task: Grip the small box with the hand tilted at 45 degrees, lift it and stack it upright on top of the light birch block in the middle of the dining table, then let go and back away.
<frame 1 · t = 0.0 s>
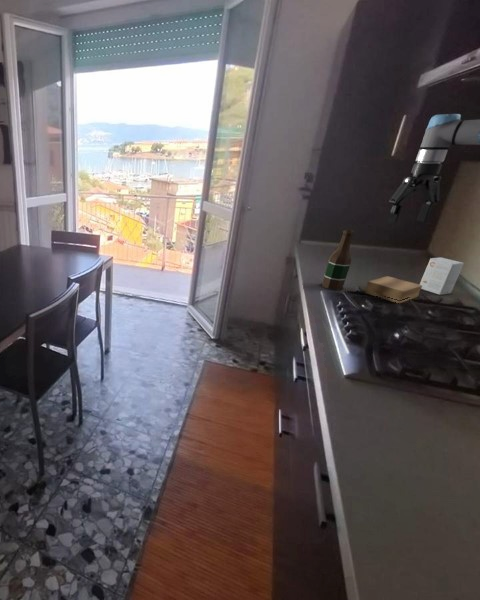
hand: (406, 222, 136), 28 cm above the worktop, tool pointing down, fingers open, 13 cm apart
small box: (433, 291, 147), on the worktop
birch block: (390, 294, 143), on the worktop
beer bottle: (331, 287, 151), on the worktop
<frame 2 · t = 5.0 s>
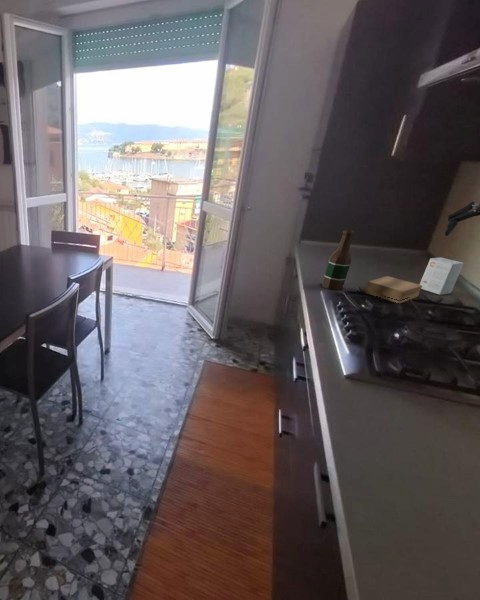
hand: (468, 237, 143), 21 cm above the worktop, tool tilted 45°, fingers open, 13 cm apart
nothing on the worktop moved.
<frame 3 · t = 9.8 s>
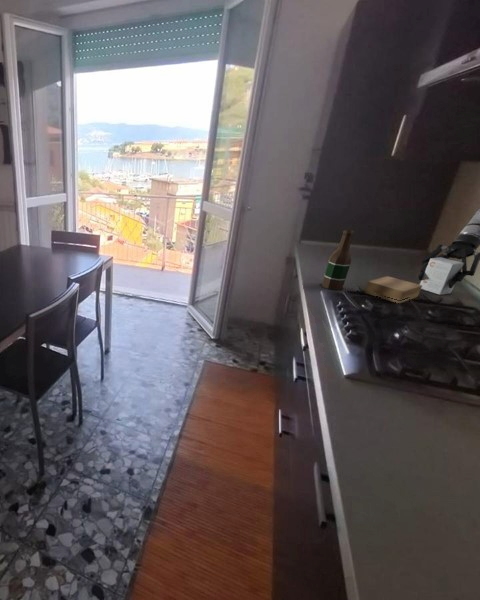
hand: (434, 282, 144), 4 cm above the worktop, tool tilted 45°, fingers closed on small box, 9 cm apart
small box: (433, 291, 147), on the worktop, touching gripper
everything else where it was.
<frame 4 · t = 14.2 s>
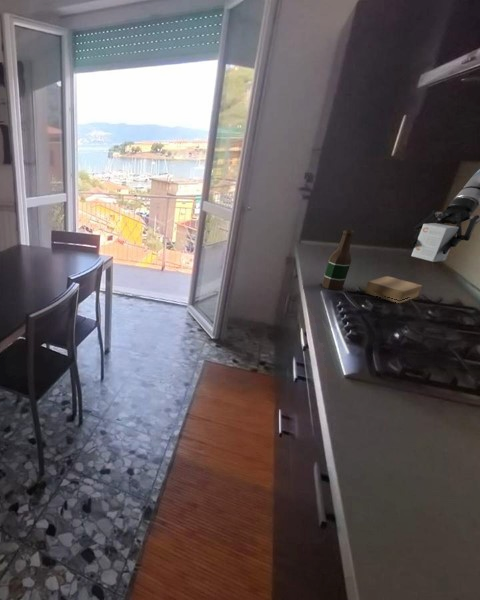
hand: (427, 248, 136), 19 cm above the worktop, tool tilted 45°, fingers closed on small box, 9 cm apart
small box: (427, 258, 139), point 14 cm above the worktop, touching gripper
everything else where it was.
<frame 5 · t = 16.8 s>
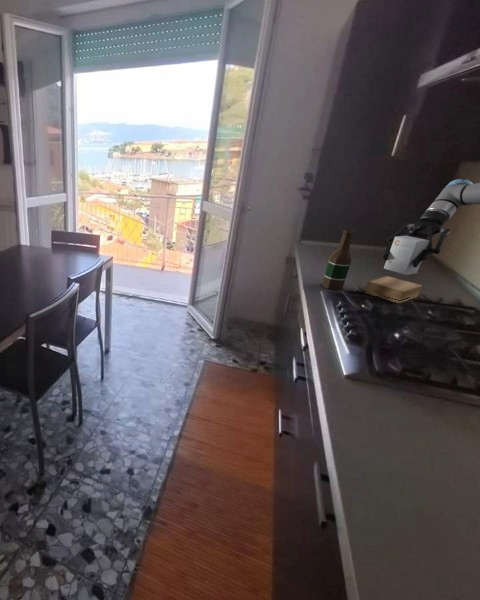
hand: (399, 261, 136), 14 cm above the worktop, tool tilted 45°, fingers closed on small box, 9 cm apart
small box: (399, 271, 139), point 10 cm above the worktop, touching gripper
everything else where it was.
when the fingers open (9 cm above the worktop, at t = 18.8 s): small box stays where it is, resting on birch block.
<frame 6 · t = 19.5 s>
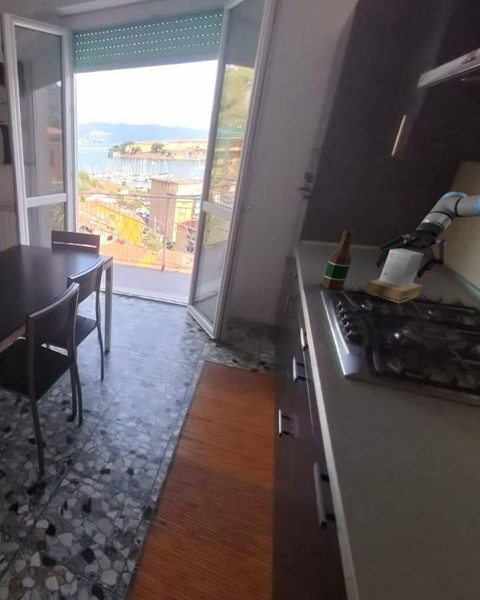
hand: (397, 270, 137), 11 cm above the worktop, tool tilted 45°, fingers open, 13 cm apart
small box: (394, 283, 141), point 5 cm above the worktop, touching birch block
birch block: (390, 294, 143), on the worktop, touching small box
everything else where it was.
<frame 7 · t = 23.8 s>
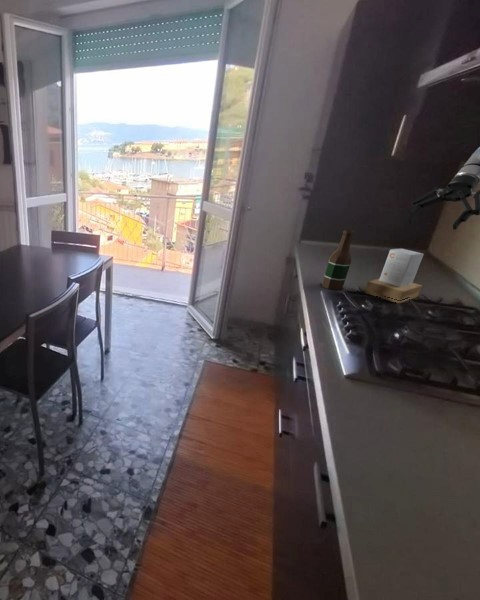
hand: (430, 223, 136), 28 cm above the worktop, tool tilted 45°, fingers open, 13 cm apart
nothing on the worktop moved.
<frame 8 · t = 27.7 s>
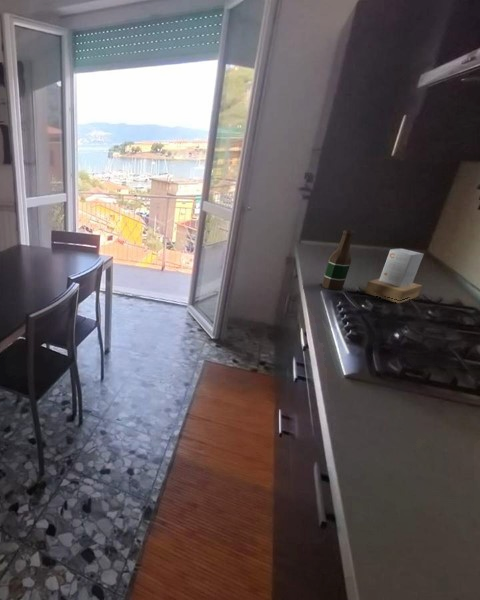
nothing on the worktop moved.
at the end: small box 0.1 cm off-centre on the birch block, point 4.8 cm above the birch block's base; small box tilted 0°; the gripper is holding nothing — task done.
